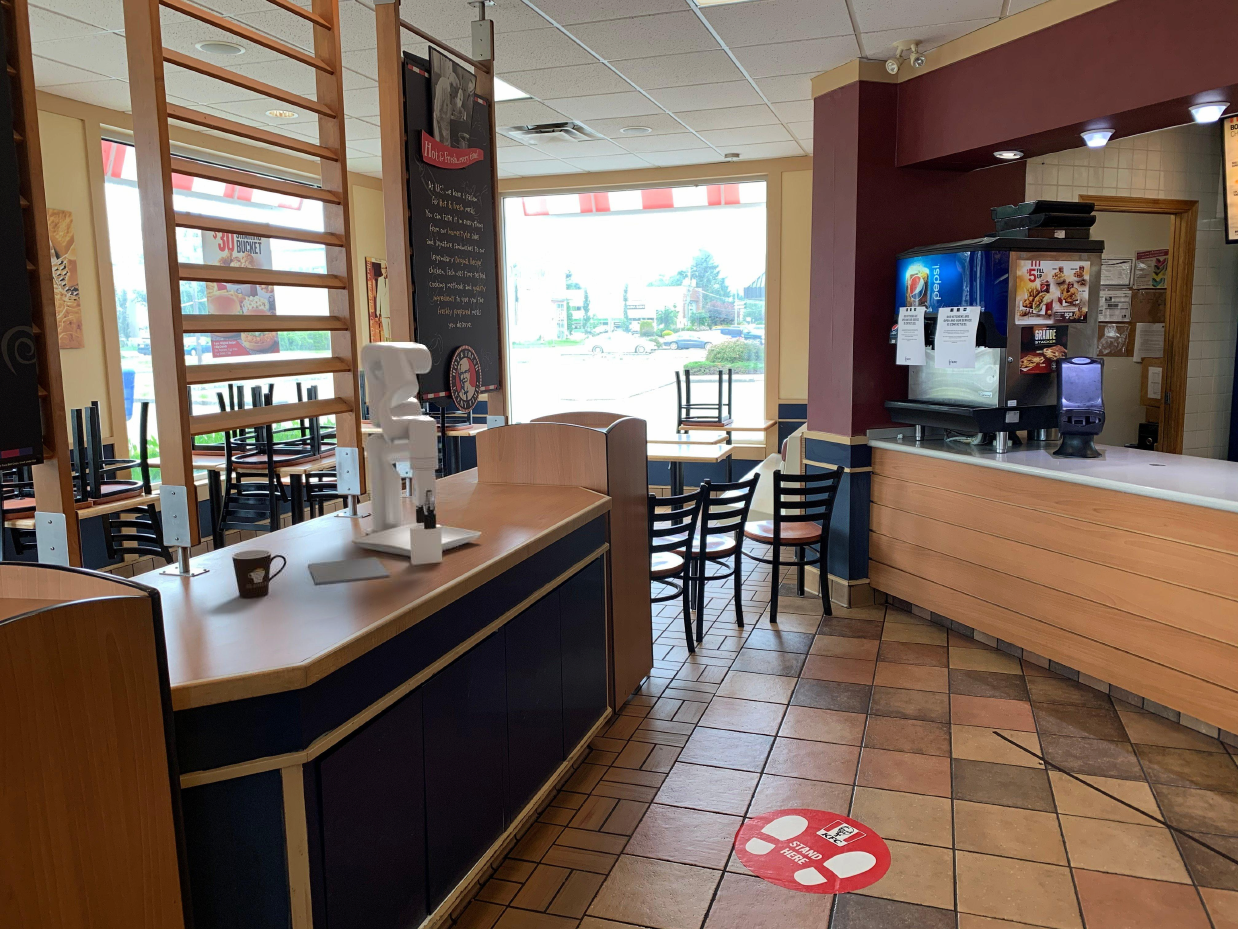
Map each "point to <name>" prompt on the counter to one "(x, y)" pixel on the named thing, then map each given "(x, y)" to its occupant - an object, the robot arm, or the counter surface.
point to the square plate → (400, 539)
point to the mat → (347, 570)
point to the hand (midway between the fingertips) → (426, 525)
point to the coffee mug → (254, 572)
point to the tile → (425, 545)
